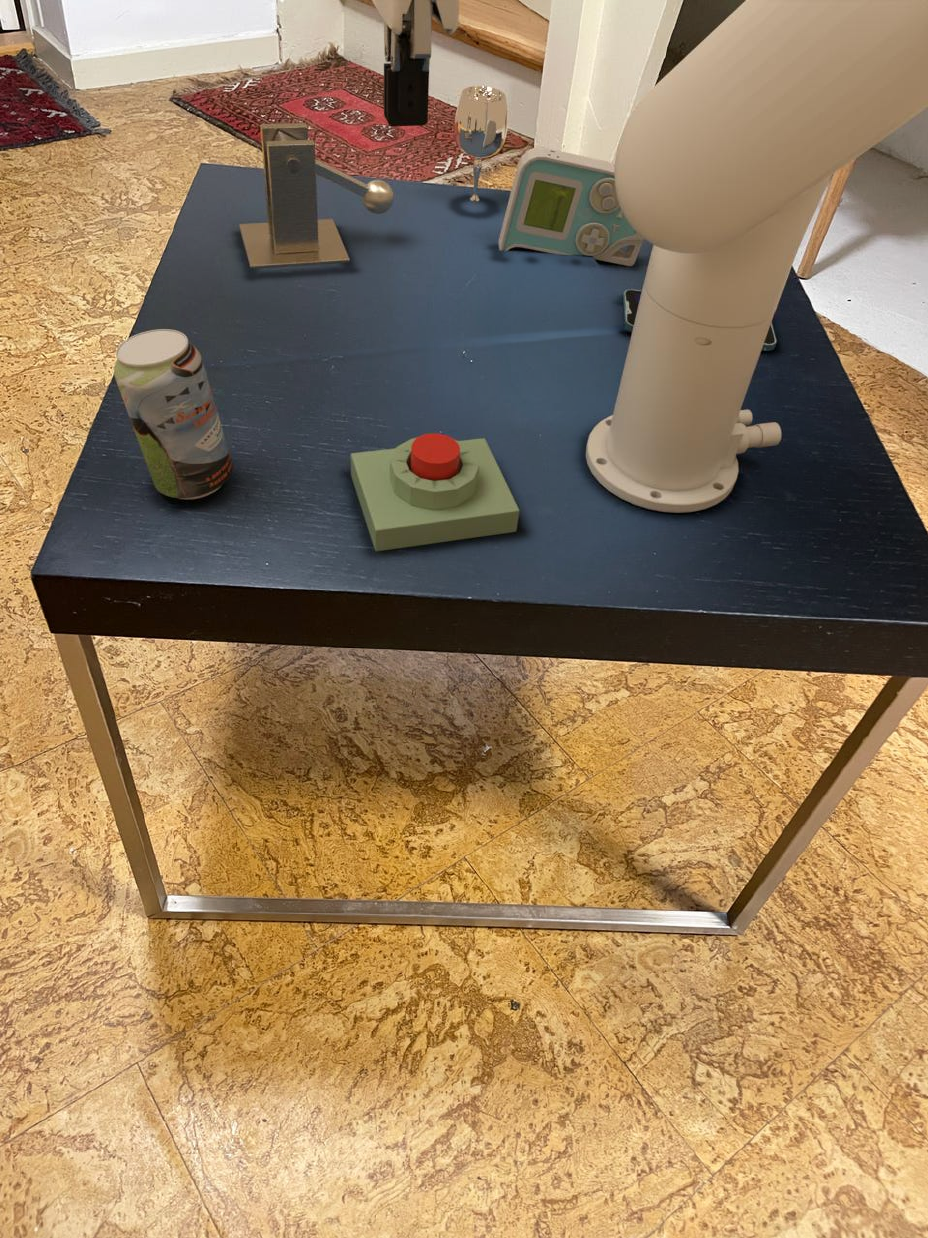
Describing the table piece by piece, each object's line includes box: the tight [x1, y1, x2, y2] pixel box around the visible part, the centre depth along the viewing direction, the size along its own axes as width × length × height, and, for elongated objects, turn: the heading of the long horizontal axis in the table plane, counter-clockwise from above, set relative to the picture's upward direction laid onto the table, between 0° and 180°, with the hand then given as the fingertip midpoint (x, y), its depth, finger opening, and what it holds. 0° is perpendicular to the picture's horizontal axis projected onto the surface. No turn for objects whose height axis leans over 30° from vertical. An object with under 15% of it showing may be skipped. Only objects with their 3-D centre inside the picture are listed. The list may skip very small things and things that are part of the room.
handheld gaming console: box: [498, 146, 645, 267], centre depth 99 cm, size 11×3×15 cm
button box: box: [350, 436, 520, 552], centre depth 72 cm, size 11×9×4 cm
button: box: [411, 432, 460, 481], centre depth 71 cm, size 4×4×2 cm
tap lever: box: [274, 131, 394, 215], centre depth 94 cm, size 13×3×3 cm, turn 106°
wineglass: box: [453, 85, 509, 202], centre depth 105 cm, size 6×6×12 cm
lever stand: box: [238, 122, 351, 270], centre depth 94 cm, size 10×9×12 cm
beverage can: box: [113, 328, 234, 500], centre depth 69 cm, size 6×7×12 cm
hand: (405, 121), depth 75 cm, fingers closed
